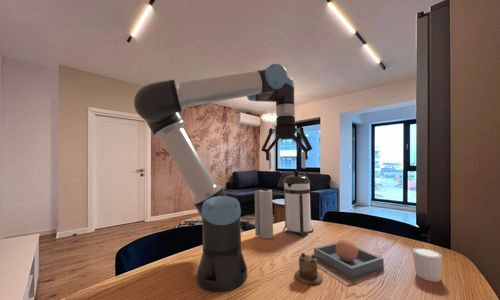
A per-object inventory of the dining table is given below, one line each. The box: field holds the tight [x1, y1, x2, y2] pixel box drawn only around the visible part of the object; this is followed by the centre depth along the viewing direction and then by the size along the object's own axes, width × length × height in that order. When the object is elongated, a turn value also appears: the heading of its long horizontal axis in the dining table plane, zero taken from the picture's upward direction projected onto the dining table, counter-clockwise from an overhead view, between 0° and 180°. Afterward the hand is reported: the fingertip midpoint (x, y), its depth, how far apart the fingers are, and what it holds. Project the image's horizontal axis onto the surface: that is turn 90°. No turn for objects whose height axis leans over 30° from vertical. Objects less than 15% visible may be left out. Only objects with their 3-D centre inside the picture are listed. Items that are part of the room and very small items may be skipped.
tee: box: [294, 252, 324, 286], centre depth 64 cm, size 8×8×6 cm
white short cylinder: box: [412, 247, 443, 282], centre depth 63 cm, size 7×7×7 cm
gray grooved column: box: [254, 189, 274, 240], centre depth 99 cm, size 7×6×21 cm
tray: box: [313, 242, 385, 282], centre depth 72 cm, size 14×16×4 cm
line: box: [317, 263, 351, 286], centre depth 69 cm, size 1×20×1 cm, turn 25°
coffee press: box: [282, 169, 314, 238], centre depth 106 cm, size 17×16×30 cm
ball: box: [335, 238, 359, 262], centre depth 72 cm, size 7×7×7 cm
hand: (287, 168), depth 86 cm, fingers open, 13 cm apart
